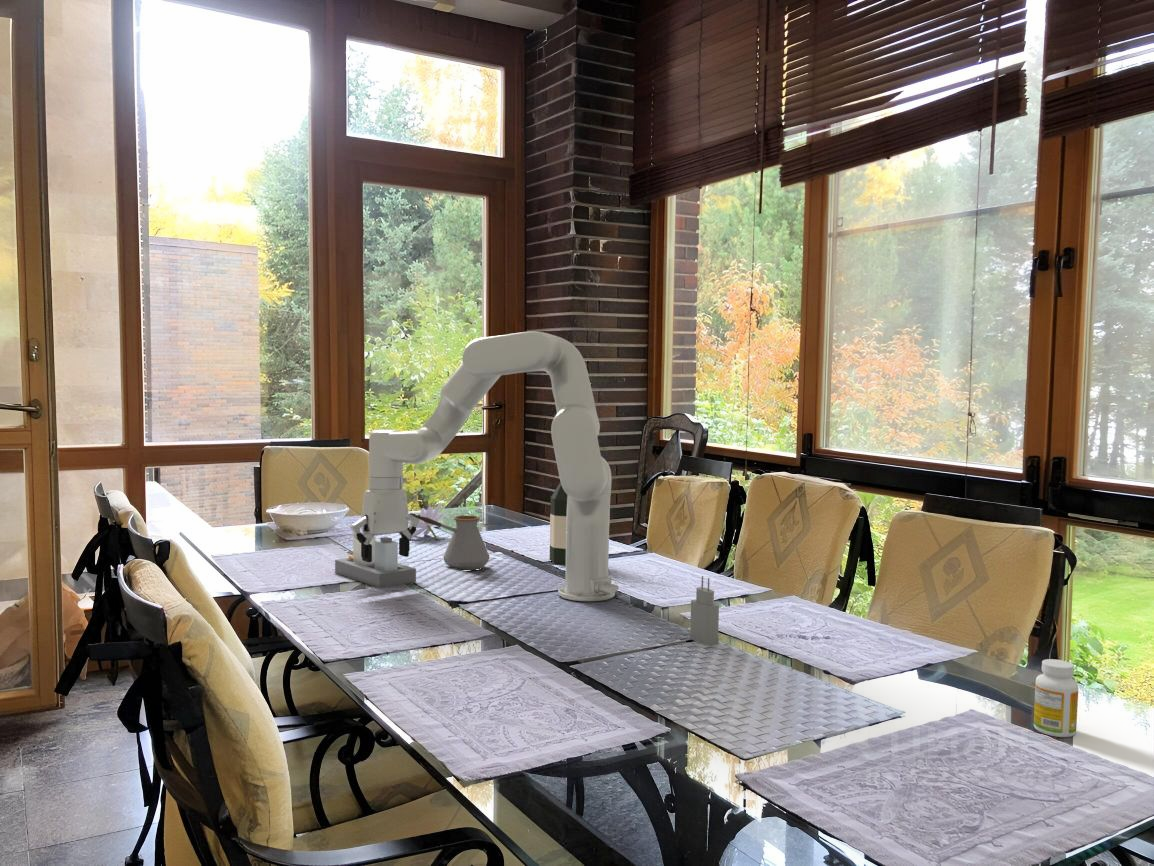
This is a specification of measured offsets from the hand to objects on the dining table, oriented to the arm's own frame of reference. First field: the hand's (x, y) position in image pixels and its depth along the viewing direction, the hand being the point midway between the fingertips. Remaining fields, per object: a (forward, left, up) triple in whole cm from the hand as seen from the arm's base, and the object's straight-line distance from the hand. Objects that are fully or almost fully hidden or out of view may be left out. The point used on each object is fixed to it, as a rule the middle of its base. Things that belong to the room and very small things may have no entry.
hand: (385, 558), depth 211 cm
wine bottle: (-6, -50, -6) cm, 51 cm away
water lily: (+44, -40, -6) cm, 60 cm away
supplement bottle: (-135, -26, -6) cm, 138 cm away
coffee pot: (+4, -20, -6) cm, 21 cm away
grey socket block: (+5, 0, -6) cm, 8 cm away
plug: (0, 0, -5) cm, 5 cm away
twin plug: (+10, 0, -5) cm, 11 cm away
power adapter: (-75, -22, -6) cm, 79 cm away
